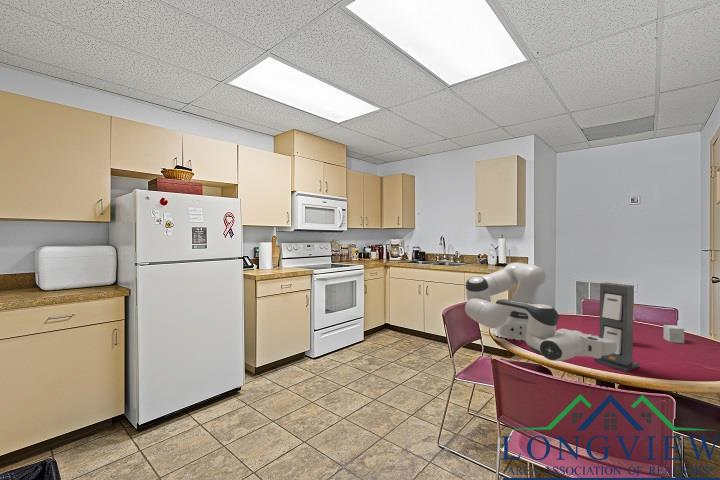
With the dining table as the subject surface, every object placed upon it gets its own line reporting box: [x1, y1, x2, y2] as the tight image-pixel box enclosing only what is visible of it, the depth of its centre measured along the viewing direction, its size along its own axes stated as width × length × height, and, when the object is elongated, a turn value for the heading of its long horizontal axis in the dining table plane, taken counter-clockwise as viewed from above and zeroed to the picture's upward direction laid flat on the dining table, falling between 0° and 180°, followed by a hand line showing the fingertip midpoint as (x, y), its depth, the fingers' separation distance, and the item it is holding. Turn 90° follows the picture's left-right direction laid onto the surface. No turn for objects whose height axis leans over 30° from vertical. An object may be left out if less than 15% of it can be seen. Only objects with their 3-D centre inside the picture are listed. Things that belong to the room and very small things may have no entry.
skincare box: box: [663, 324, 685, 344], centre depth 171 cm, size 6×6×7 cm
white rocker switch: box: [602, 293, 623, 321], centre depth 140 cm, size 2×6×10 cm, turn 29°
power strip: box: [594, 281, 640, 373], centre depth 142 cm, size 10×12×34 cm
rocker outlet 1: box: [603, 326, 623, 355], centre depth 141 cm, size 2×6×10 cm, turn 29°
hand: (595, 337), depth 134 cm, fingers closed
